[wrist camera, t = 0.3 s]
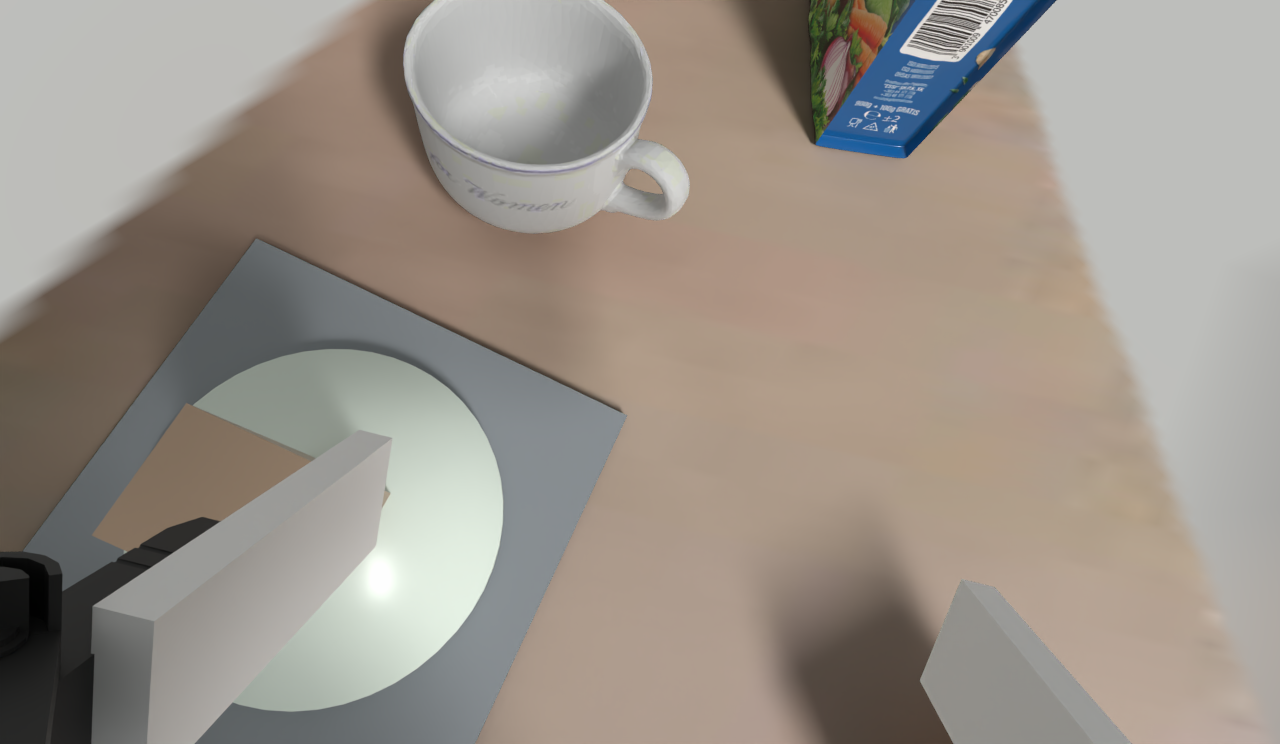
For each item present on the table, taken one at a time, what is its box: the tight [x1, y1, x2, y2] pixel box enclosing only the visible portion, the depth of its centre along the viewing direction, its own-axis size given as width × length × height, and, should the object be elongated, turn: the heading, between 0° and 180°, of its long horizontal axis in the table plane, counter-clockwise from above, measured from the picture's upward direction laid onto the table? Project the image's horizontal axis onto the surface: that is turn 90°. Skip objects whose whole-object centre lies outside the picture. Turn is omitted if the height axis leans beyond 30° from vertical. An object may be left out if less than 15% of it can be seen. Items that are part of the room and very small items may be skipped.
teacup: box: [403, 0, 690, 234], centre depth 31 cm, size 14×11×8 cm
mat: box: [22, 238, 627, 744], centre depth 28 cm, size 20×20×1 cm
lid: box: [92, 349, 504, 712], centre depth 23 cm, size 15×15×11 cm
